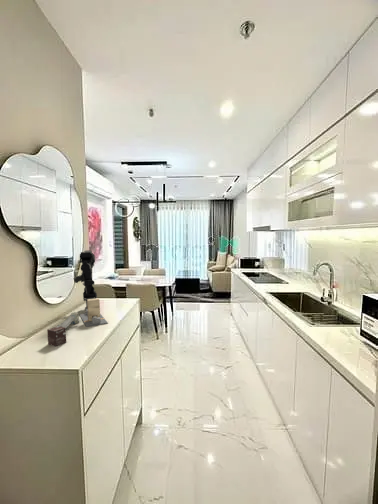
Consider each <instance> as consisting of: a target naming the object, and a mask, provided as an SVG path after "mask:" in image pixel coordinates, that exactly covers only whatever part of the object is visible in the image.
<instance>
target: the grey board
mask: <svg viewBox="0 0 378 504" xmlns="http://www.w3.org/2000/svg"><path fill="white" fill-rule="evenodd" d="M79 316H80V318H81V320H82V322H83V323H84V325H85V327H86V328H88V327H94V326H101V325H106V324H109V322H108V321H107V320H106V319H105V318H104V316H103V315H102V314H101V313H100V317H97V316H92V321H89V320H88V309H86V308H85V313H80V314H79Z"/></svg>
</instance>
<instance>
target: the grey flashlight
mask: <svg viewBox="0 0 378 504" xmlns="http://www.w3.org/2000/svg"><path fill="white" fill-rule="evenodd" d="M79 316H80V315H79ZM79 316H78V313H77V312H71V313H70V316H68V317H67V319H65V320H64V321H62V322H61V323H60V324H59V325H57V326H56V327H58V326H59V327H64V328H66V329H67V327H69V325H75V324H78V323H80V317H79Z"/></svg>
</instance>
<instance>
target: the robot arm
mask: <svg viewBox="0 0 378 504" xmlns="http://www.w3.org/2000/svg"><path fill="white" fill-rule="evenodd" d="M79 263H80V264H81V265H80V270H81V274H80V275H77V276H75V277H72V278H73V281H74V283H75V284H77V283H79V282H80V283H82V285H83V286H84V288H83V292H82V297H83V301H84V302H85V307H84V308H85V310H86V309H88V308H87V300H88V299H96V298H98V293H97V292H96V291H95V287H94V286H93V285H95V281H94V280H93V268H94V266H95V263H96V256H95V254H94V253H93V251H92V250H89V249H88V250H84V251H81V252H80V253H79Z"/></svg>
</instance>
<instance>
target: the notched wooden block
mask: <svg viewBox="0 0 378 504" xmlns="http://www.w3.org/2000/svg"><path fill="white" fill-rule="evenodd" d="M100 304H101V303H100V299H99V298H98V297H97V298H96V299H88V300H87V308H88V320H89V321H92V316H97V317H100V314H101V305H100Z"/></svg>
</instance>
